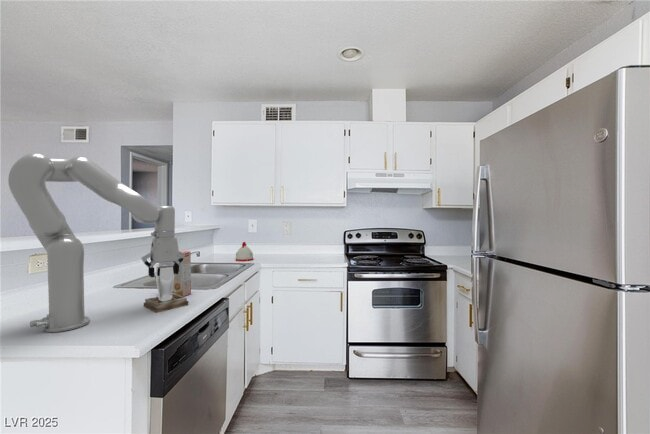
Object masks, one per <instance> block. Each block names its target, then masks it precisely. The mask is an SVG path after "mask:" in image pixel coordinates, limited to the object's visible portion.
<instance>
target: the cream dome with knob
mask: <svg viewBox="0 0 650 434" xmlns="http://www.w3.org/2000/svg"><path fill="white" fill-rule="evenodd" d="M251 261H254V254H253V251H252V250H251V248H249V246H247V243H246V241H243V242H242V244H241V247H240V248H239V249H238V250H237V251H236V252H235V262H251Z"/></svg>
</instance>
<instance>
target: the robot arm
mask: <svg viewBox="0 0 650 434" xmlns="http://www.w3.org/2000/svg"><path fill="white" fill-rule="evenodd" d="M7 181H8V182H7V183H8V187H9V190H10V193H11V194H12V197H13V198H14V199H15V201H16V203H17V205H18V206H19V208H20V210H21V212H22V213H23V215H24V217H25V218H26V220H27V222H28V225H29V228H30V229H31V230H32V232H33V233H34V235H35V236H36V238H37V240H38V241H39V243H40V245H41V246H42V247H43V248H44V250H45V252H46V255H47V284H48V289H47V290H48V294H47V295H48V314H46V317H42V319H35V320H34V319H33V320H30V322H29V326H30V328H33V327H36V328H38V327H42V331H43V332H45V333H46V332H47V333H59V332H66V331H71V330H75V329H79V328H82V327H83V326H87V325H88V324H90V322H91V317H89V316H85V278H84V276H85V275H84V273H85V272H84V263H85V248H84V243H82V241H81V240H80V239H78V238H77V237H76V235H75V234H74V232H73V230H72V228H71V227H70V226H69V224H68V222H67V220H66V217H65V215H64V213H63V212H62V211H61V210H60V208H59V206H58V205H57V203H56V202H55V200H54V199H53V197H52V195H51V194H50V191H49V190H48V188H47V185H46V182H51V183H53V182H57V183H58V182H59V183H63V182H64V183H67V182H69V183H70V182H71V183H75V182H79V183H80V184H82V185H83V186H85V187H86V188H87V189H89V190H90V191H92V192H93V193H94V194H96V195H97V196H99V197H100V198H102V199H103V200H105V201H107V202H110V203H112V204H114V205H117V206H119V207H121V208H122V209H124V210H125V211H128V212H129V213H130V214H131V217H132V219H133V220H134V221H136V222H137V223H140V224H153V223H154V230H153V232H151V233H150V236H151V237H154V238H152V241H151V245H150V252H149V253H147V254H146V255H143V256H142V257H141V260H142V262H143V264H144V265H145V266H146V267H147V268H148V272H147V273H148V276H149V277H150V278H154V277H155V267H154V266H155V265H156V264H159V263H162V262H172V261H173V262H174V263H175V264H174V274H178V272H179V265H180V263H181V262H182V261H183V259H184V257H185V254H184V253H182V252H179V251H180V250H179V244H178V238H177V237H175V235H176V234H175V232H176V231H175V229H176V228H175V227H176V226H175V224H176V223H175V222H176V209H175V207H174V206H171V205H154V204H153V203H152V202H151V201H149V200H148V199H147V198H146V197H144V196H143V195H141V194H140V193H138V192H137V191H135V190H134V189H132V188H130V187H129V186H127V185H126V184H125V183H123V182H121V181H120V180H119V179H117V177H114V176H113V175H112V174H110V173H109V172H108V171H107V170H105V169H104V168H102V167H101V166H100V165H98V164H97V163H95V162H94V161H93V160H92V159H90V158H88V157H85V156H81V155H80V156H75V157H72V158H70V159H68V158H50V157H49V156H47V155H45V154H43V153H39V152H31V153H28V154H24V155H23V156H21V157H20V158H19V159H18V160H17V161H16V162H15V163H14V164H13V165H12V167H11V169H9V173H8V177H7ZM179 255H180V258H179ZM149 258H150V261H148V259H149Z"/></svg>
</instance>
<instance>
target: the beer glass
mask: <svg viewBox="0 0 650 434" xmlns="http://www.w3.org/2000/svg"><path fill="white" fill-rule="evenodd" d="M155 282H156V287H157V292H158V296H157V297H158V303H163V302H167V301H172V300H173V295H172V291H173V285H174V266H159V265H158V266H156V270H155Z"/></svg>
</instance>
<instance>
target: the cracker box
mask: <svg viewBox="0 0 650 434" xmlns="http://www.w3.org/2000/svg"><path fill="white" fill-rule="evenodd" d="M179 252H182V253H184V254H185V257H184V259H183V261H182V262H181V263H180V265H179V272H178V274H174V285H173V291H172V293H175V294H178V295H181V296H183V297H185V296H188V295H191V294H192V272H191V271H192V267H191V266H192V265H191V264H192V263H191V262H192V261H191V259H192V258H191V250H190V251H189V250H187V251H186V250H179ZM179 258H180V255H179ZM158 264H159V265H158V267H159V266H174V264H175V263H174V262H173V261H172V262H162V263H158Z"/></svg>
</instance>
